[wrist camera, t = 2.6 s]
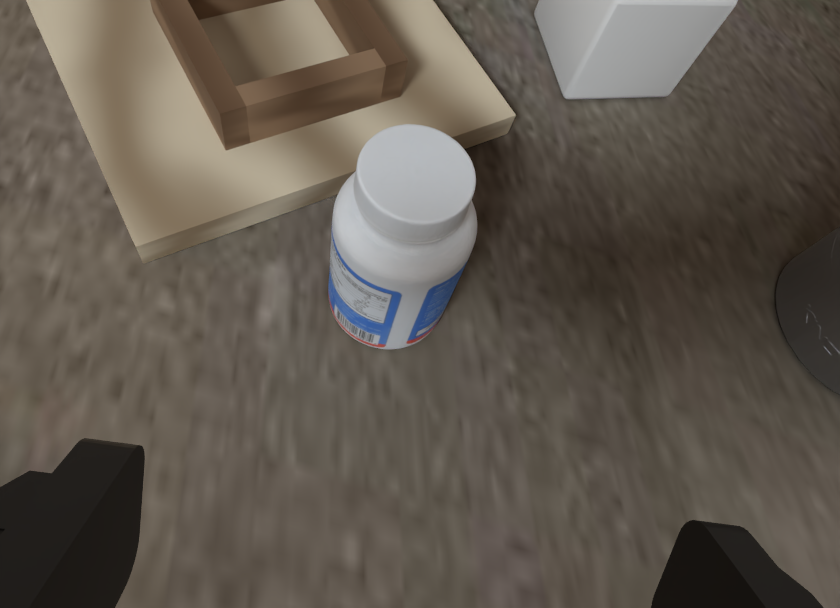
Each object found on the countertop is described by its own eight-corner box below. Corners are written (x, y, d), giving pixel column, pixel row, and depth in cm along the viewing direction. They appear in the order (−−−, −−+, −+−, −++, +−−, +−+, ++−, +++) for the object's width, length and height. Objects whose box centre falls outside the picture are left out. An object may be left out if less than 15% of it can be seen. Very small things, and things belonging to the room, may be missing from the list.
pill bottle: (429, 243, 31) (481, 103, 22) (453, 344, 29) (520, 234, 20) (318, 252, 29) (326, 108, 21) (334, 359, 27) (350, 249, 19)
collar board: (373, -56, 39) (381, -121, 36) (507, 133, 35) (531, 80, 31) (33, 15, 32) (0, -57, 29) (143, 263, 28) (120, 214, 24)
